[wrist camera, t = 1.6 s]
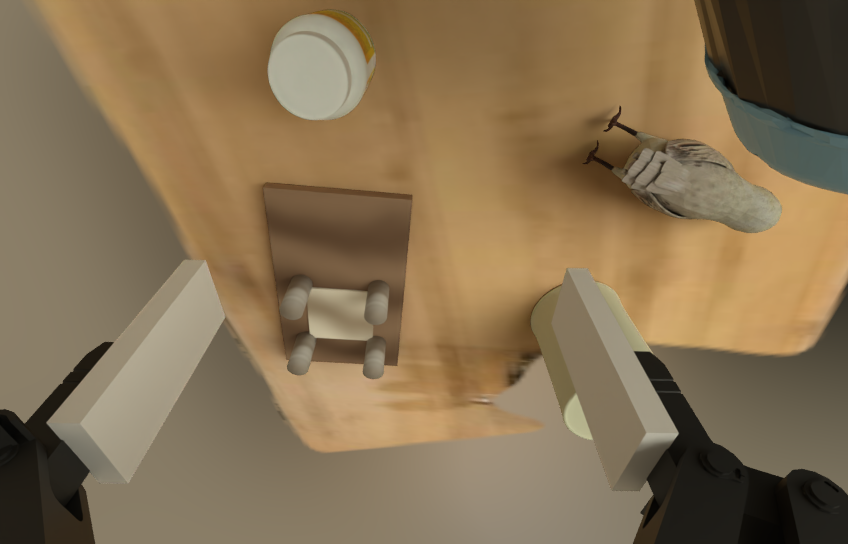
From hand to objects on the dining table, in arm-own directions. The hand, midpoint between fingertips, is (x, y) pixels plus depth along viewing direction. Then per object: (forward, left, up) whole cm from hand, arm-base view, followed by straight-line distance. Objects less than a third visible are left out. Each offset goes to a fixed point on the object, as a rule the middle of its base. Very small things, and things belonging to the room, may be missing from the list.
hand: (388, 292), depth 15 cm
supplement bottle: (-5, -5, -20) cm, 21 cm away
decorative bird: (+1, +22, -20) cm, 30 cm away
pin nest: (+15, -5, -20) cm, 25 cm away
